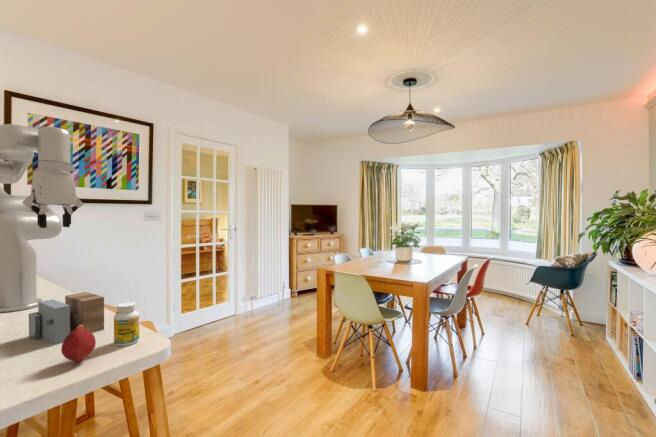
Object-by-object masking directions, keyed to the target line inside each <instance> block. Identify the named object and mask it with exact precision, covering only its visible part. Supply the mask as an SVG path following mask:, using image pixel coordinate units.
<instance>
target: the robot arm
mask: <svg viewBox="0 0 656 437" xmlns="http://www.w3.org/2000/svg"><path fill="white" fill-rule="evenodd" d="M35 153H36V154H37V158H38V160H37V161H38V162H37V168H38V170H37V171H34V172H33V176H32V180H31V190H30V194H29V195H14V194H8V193H7V192H6V191H5V190H4V189H3V188H2V187H0V313H5V312H15V311H22V310H28V309H32V308H36V307H38V302H41V301H44V300H43V299H42V298H39V297H37V296H38V295H37V293H38V292H37V291H38V290H37V252H36V249H35V248H34V247H33V246H32V245H31V244H30V243H29V242H28V241H31V240H33V241H34V240H46V239H53V238H56V237H58V236H59V235H60V233H61V232H62V231H63V228H70V227H71V225H72V215H73V214H74V212H76V211H77V210H78V209H80V208H81V207H82V206H84V202H83V201H81V199H80V198H79V197H78V196H77V190H76V182H75V178H74V175H73V174H72V173H71V172H75V171H76V167H75V166H72V164H71V133H70V132H69V131H68V130H67V129H65V128H62V127H56V126H40V128H35V127H30V126H25V125H21V124H20V125H19V124H16V123H15V124H13V123H5V124H0V184H5V185H12V184H16V183H18V182H20V180H21V179H22V177H23V176H24V174H25V173H26V171H27V169H28V167H29V166H30V165H31V163H32V161H33V159H34V156H35ZM50 206H61V207H62V209H63V214H62V221H61V218H60V217H59V216H58V214H57V213H56V212H55V211H54V210H53V209H52V208H51V207H50Z"/></svg>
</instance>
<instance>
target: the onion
mask: <svg viewBox="0 0 656 437" xmlns="http://www.w3.org/2000/svg"><path fill="white" fill-rule="evenodd" d="M61 344H62V345H61V349H60V350H61V354H62V356H63V357H64V358H65V359H67V360H70V361H72V362H76V363H82V362H83V361H84V360H85V359H86V358H87V357H89V355H91V354H92V352H93V351H94V350H95V348H96V337H95V335H94V333H91V332H89V331H87V330H85V329H83V325H79V326H78V327H77V328H76V329H75V330H74V331H70V334H69V335H68V336H67V337H66V338H65V340H64V342H63V343H61Z"/></svg>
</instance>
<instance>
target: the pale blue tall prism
mask: <svg viewBox="0 0 656 437" xmlns="http://www.w3.org/2000/svg"><path fill="white" fill-rule="evenodd" d="M37 307H38V309H37V310H38V311H37V312H38V315H40V339H43V340H44V341H47V342H48V343H50V344H52V345H54V346H57V345H60V344H63V342H64V340H65V338H66V337H67V336H68V335H69V334H70V333H71V330H70V305H67V304H65V303H64V302H62V301H58V300H56V299H52V298H51V299H49V300H43V301H41V302H38V306H37Z"/></svg>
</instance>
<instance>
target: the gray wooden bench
mask: <svg viewBox="0 0 656 437" xmlns="http://www.w3.org/2000/svg"><path fill="white" fill-rule="evenodd" d="M28 337H29V338H31V339H32V340H35V341H37V340H40V339H41V337H40V315H38V311H35V312H32V313H28Z"/></svg>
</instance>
